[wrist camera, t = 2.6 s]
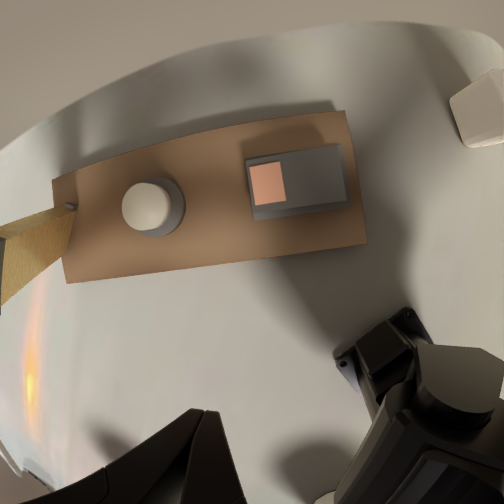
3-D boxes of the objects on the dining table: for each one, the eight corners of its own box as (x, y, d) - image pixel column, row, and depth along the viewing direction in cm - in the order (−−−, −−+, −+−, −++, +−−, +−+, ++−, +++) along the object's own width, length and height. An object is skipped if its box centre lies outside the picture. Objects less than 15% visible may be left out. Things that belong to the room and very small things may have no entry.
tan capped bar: (83, 207, 18) (-15, 249, 7) (71, 253, 19) (-17, 331, 8) (65, 200, 18) (-41, 235, 7) (54, 246, 19) (-41, 316, 7)
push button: (174, 225, 16) (166, 226, 15) (135, 232, 17) (125, 234, 16) (167, 180, 16) (159, 178, 15) (129, 189, 17) (119, 188, 15)
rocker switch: (346, 200, 15) (346, 200, 14) (258, 212, 16) (252, 213, 15) (337, 148, 15) (337, 144, 14) (250, 163, 16) (244, 160, 15)
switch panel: (361, 241, 18) (370, 244, 16) (78, 279, 21) (61, 285, 19) (340, 117, 17) (346, 106, 15) (63, 181, 20) (45, 179, 18)
